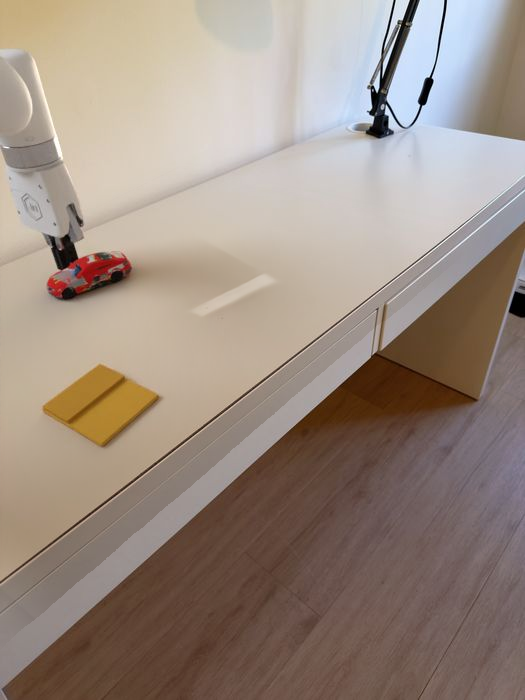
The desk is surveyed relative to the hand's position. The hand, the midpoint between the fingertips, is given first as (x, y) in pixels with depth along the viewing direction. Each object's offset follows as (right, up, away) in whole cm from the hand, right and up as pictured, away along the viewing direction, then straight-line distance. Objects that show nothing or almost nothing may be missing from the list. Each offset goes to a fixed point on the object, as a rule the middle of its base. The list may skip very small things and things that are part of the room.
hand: (69, 266), depth 85 cm
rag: (+12, -20, -23) cm, 33 cm away
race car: (+4, -3, -1) cm, 5 cm away
